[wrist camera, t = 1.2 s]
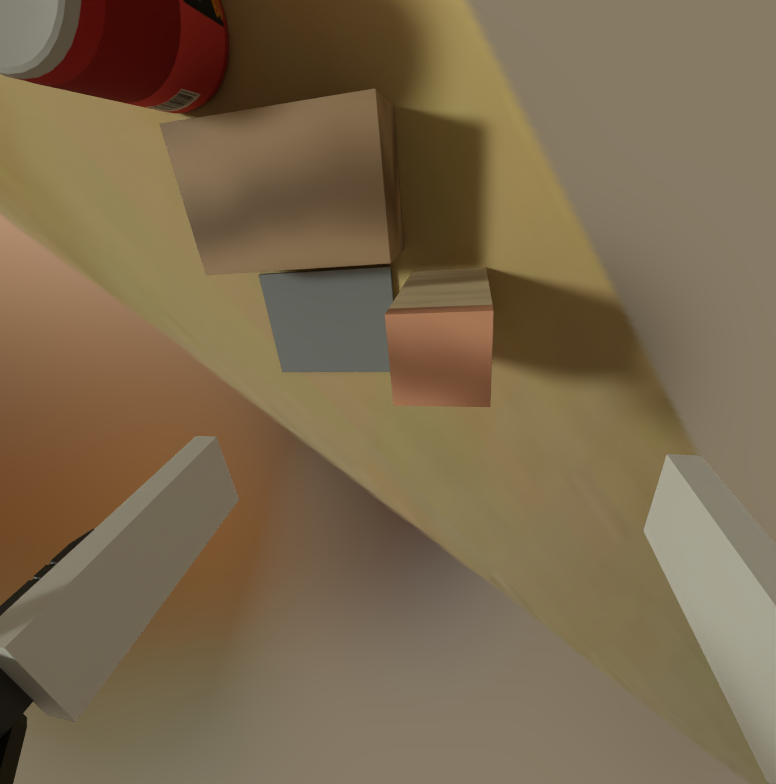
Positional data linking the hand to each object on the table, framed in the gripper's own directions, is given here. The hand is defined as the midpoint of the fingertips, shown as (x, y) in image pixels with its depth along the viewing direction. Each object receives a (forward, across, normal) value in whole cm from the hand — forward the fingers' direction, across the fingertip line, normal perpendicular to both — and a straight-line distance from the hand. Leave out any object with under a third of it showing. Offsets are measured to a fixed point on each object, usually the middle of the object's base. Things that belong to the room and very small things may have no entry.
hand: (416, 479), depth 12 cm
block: (+18, 0, 0) cm, 18 cm away
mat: (+18, -9, -1) cm, 20 cm away
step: (+18, -9, +8) cm, 22 cm away
